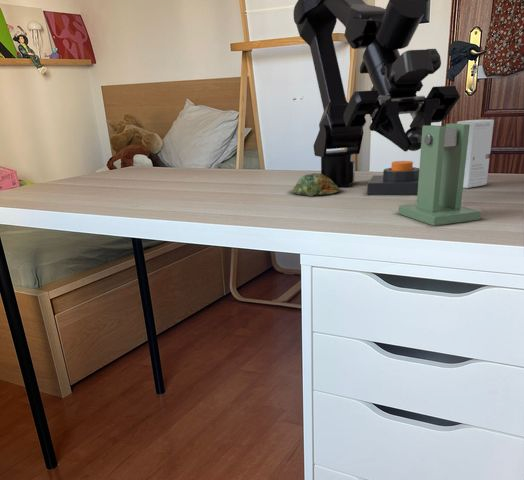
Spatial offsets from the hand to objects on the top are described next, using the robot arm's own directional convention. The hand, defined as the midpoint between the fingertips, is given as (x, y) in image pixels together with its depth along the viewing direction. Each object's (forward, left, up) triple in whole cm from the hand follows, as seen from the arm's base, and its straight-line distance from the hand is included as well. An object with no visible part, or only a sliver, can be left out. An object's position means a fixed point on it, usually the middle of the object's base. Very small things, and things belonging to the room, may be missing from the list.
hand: (417, 148), depth 84 cm
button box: (-3, +18, -10) cm, 21 cm away
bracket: (+4, -6, -10) cm, 12 cm away
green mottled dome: (-20, +16, -10) cm, 28 cm away
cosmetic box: (+10, +23, -10) cm, 27 cm away
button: (-3, +18, -6) cm, 20 cm away
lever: (+2, -2, 0) cm, 3 cm away
